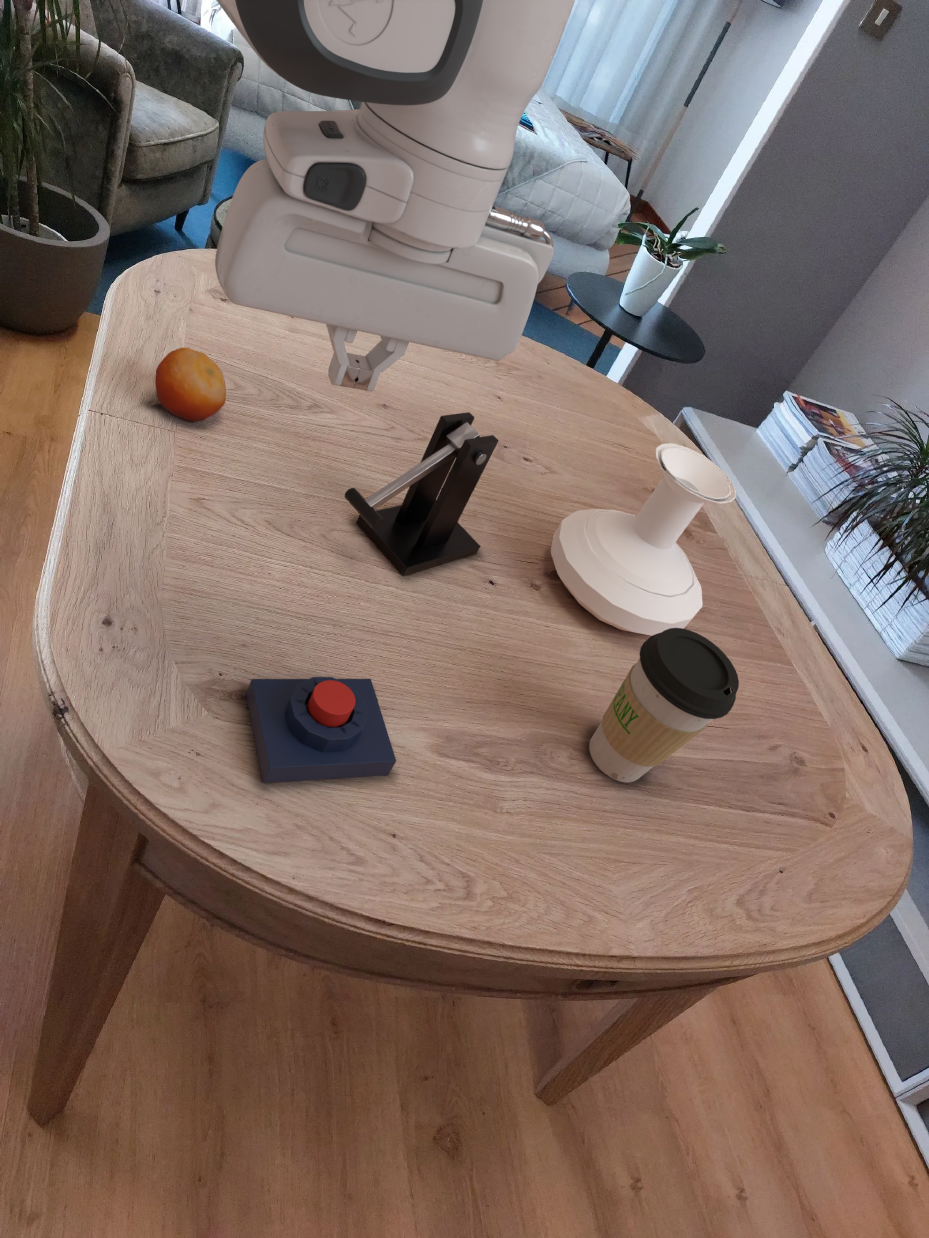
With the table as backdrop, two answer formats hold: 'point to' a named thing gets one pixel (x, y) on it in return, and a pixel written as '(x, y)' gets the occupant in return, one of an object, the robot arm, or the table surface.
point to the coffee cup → (663, 703)
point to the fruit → (190, 385)
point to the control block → (316, 733)
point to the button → (331, 703)
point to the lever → (408, 477)
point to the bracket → (434, 506)
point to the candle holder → (642, 549)
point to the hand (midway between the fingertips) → (349, 383)
